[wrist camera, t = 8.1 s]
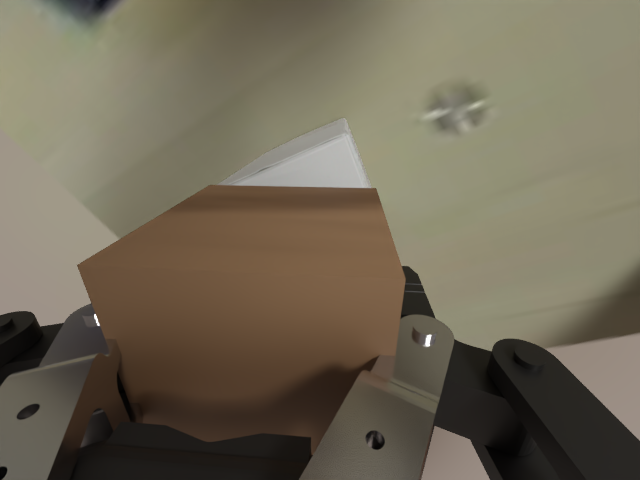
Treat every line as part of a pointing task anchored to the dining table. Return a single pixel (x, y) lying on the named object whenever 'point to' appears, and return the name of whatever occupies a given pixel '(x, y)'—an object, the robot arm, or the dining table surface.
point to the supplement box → (308, 162)
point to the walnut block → (250, 307)
